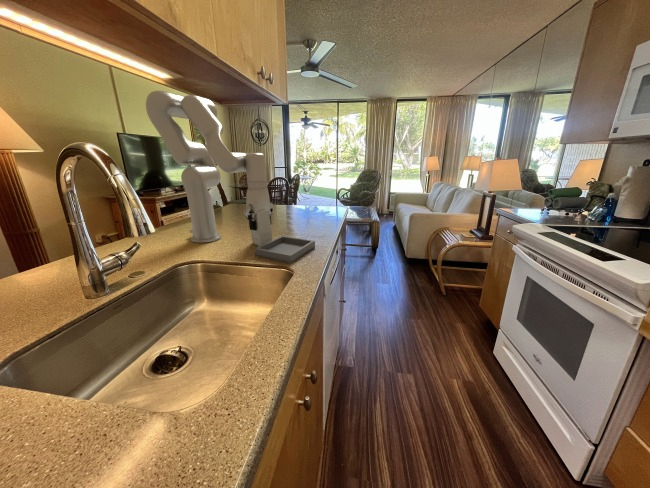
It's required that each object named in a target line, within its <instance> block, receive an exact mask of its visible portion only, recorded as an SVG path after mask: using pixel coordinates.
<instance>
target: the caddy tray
mask: <svg viewBox="0 0 650 488" xmlns="http://www.w3.org/2000/svg"><path fill="white" fill-rule="evenodd" d="M315 248H316V240H312V239H307V238H306V239H304V238H299V237H292V236H286V235H281V236H278V237H277V238H274V239H272V241H270V242H268V243H266V244H264V245H261V246H257V247H256V248H254V257H256V256H258V257H257V258H261V257H262V258H263V259H266V258H267V259H268V260H271V259H272V260H271V261H277V262H281V263H286V264H290V265H292V264H293V263H294V262H296V261H297V260H299V259H300V258H302V257H303V256H305V255H307V254H308V253H310V252H311V251H313V250H314V249H315Z"/></svg>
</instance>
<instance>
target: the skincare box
mask: <svg viewBox="0 0 650 488" xmlns="http://www.w3.org/2000/svg"><path fill="white" fill-rule="evenodd" d="M253 213H254V212H253ZM252 217H253V215H252ZM255 221H256V226H257V230H250V234H251V240H252V244H254V245H256V246H257V247H259V246H261V245H264V244H266V243H268V242H270V241H272V240H273V233H272V224H271V223H270V214H269V210H262V211H259V212H257V213H256V218H255Z"/></svg>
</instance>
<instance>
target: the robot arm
mask: <svg viewBox="0 0 650 488" xmlns="http://www.w3.org/2000/svg"><path fill="white" fill-rule="evenodd" d="M145 100H146V101H145V109H146V114H147V116H148V118H149V119H148V120H150V122H151V124H152V125H153V126H154V128H155V129H156V131H157V133H158V134H159V136H160V138H161V139H162V141H163V143H164V145H165V146H166V148H167V150H168V151H169V153H170V155H171V157H172V159H173V160H174V161H175V163H176V164H178V165H181V166H189V167H186V168H184V169H183V170H182V172H181V175H180V180H181V183H182V185H183V188H184V191H185V193H186V197H187V199H186V200H187V203H188V208H189V213H190V214H189V215H190V220H191V227H192V228H191V229H190V230H189V233H191V234H192V236H191V237H190V242H192V243H198V244H202V243H203V244H204V243H212V242H215V241H218V240H220V239H221V238H222V235H221V233H219V232H217V223H216V218H215V210H214V203H213V197H212V195H211V193H210V191H209V190H208V188H214V187H216V186H218V185H219V184H220V182H221V179H222V178H221V173H220V171H219V168H220V170H222V171H223V172H225V173H227V174H234V173H236V174H237V173H244V172H245V173H246V182H247V189H246V195H245V196H246V198H245V204H246V206H245V209H244V210H243V214H244V216H245V218H246V219H247V221H248V225H249V230H250V231H251V230H257V226H256V221H255V218H256V213H257V212H259V211H262V210H269V214H270V223H271V225H272V215H273V211H274V210H273V209H274V204H273V203H272V202H271V200H270V199H271V198H270V194H269V189H268V181H267V180H268V178H267V167H266V165H267V164H266V156H265V155H264V153H262V152H239V151H237V152H236V151H235V152H233V151H230V150H229V149H228V148H227V146H226V144H224V142H223V139H222V138H221V136H222V134H223V132H224V126H223V124H222V123H221V122H220V121H219V119H218V118H217V117H218V109H217V106H216V105H215V104H214V102H213V101H212V100H210V99H209V98H206V97H202V96H198V95H195V94H188V95H185V96H183V95H179V94H176V93H173V92H169V91H166V90H165V91H164V90H154V91H151V92H150V93H148V95H147V96H146V99H145ZM173 118H179V119H185V120H189V121H190V122H191V124H192V125H193V126H194V127H195V128H196V130H197V131H198V132H199V134H200V135H201V136H202V137H203V139H204V142H205V143H204V144H205V145H204V144H202V142H199V141H190V140H189V139H188V138H187V136H186V134H185V133H184V130H183V129H182V127H181V126H180V125H179V123H177V121H175V119H173ZM218 167H219V168H218ZM253 212H254V213H253ZM252 215H253V217H252Z"/></svg>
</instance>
